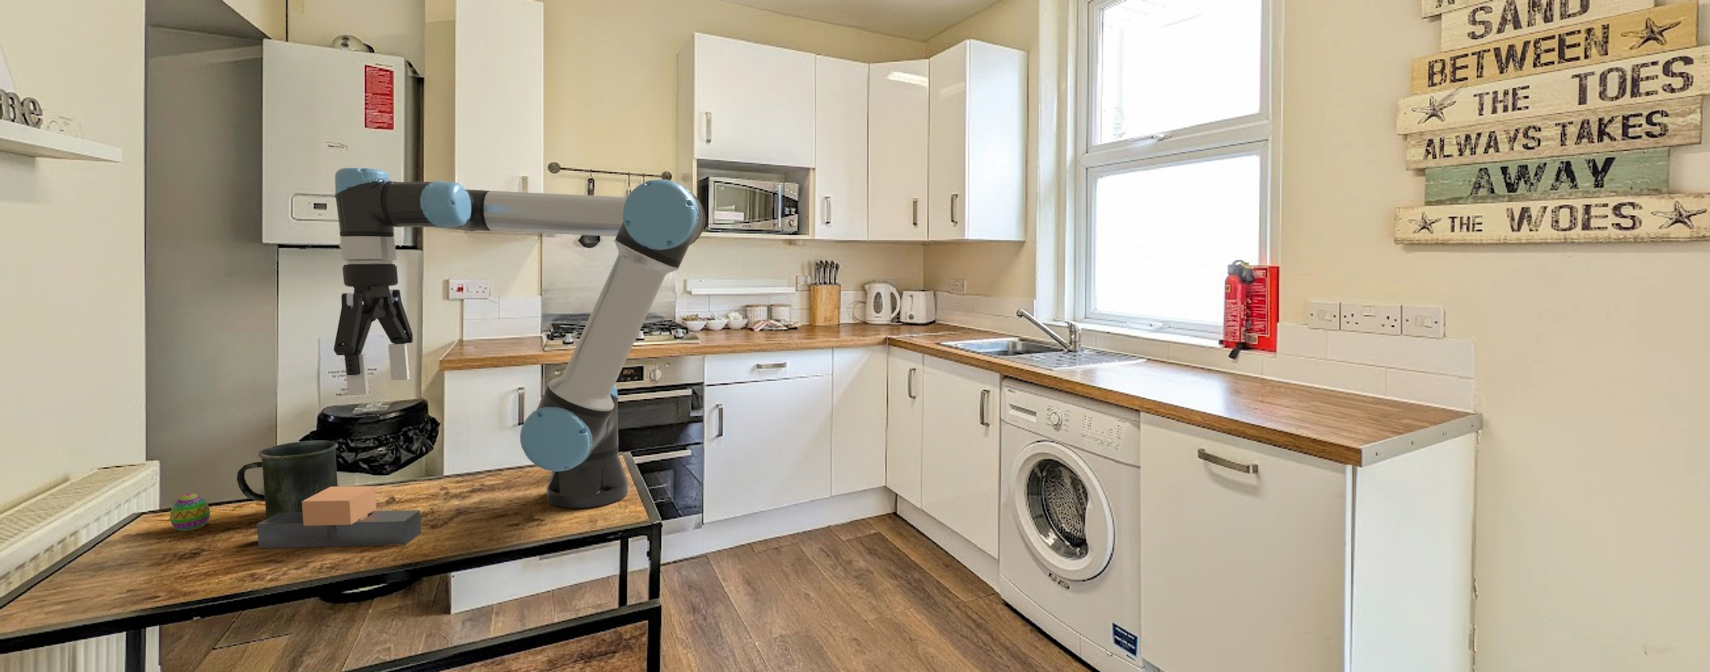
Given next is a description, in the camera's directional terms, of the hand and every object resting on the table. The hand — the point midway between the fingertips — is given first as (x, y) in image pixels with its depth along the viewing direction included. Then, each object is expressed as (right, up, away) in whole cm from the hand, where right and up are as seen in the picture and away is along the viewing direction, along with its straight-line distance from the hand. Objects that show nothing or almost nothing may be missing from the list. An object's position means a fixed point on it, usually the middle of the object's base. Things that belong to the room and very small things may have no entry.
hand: (380, 386), depth 118 cm
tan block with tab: (-3, -24, -5) cm, 25 cm away
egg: (-32, -24, -1) cm, 40 cm away
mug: (-21, -24, +6) cm, 32 cm away
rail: (-3, -25, -5) cm, 26 cm away
